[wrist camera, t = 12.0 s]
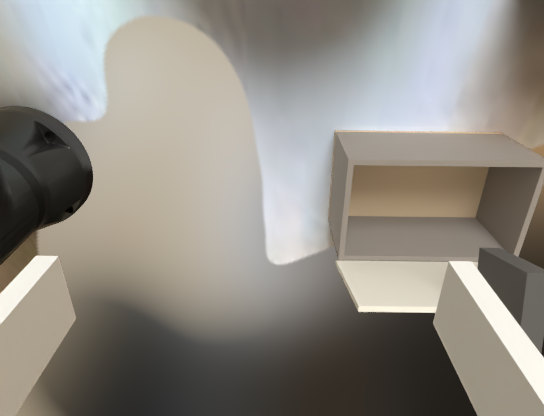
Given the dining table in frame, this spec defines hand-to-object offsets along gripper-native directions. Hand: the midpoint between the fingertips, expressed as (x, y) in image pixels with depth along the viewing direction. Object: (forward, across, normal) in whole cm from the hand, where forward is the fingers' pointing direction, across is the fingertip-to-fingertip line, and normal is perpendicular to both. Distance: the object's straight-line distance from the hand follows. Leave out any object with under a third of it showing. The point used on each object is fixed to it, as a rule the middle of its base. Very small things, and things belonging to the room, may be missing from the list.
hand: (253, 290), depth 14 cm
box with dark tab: (+19, +18, -9) cm, 28 cm away
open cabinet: (+37, +18, -11) cm, 42 cm away
